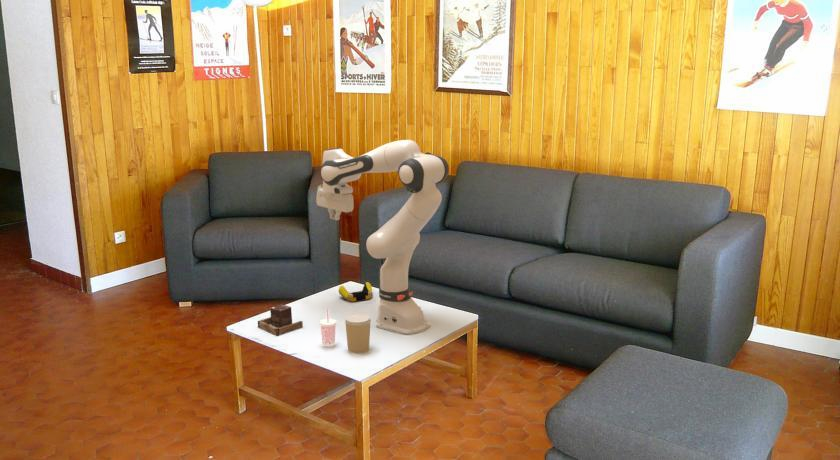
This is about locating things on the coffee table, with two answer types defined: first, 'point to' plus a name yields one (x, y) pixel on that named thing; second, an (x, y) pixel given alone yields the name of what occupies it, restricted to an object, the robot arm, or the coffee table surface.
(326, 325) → the beverage cup
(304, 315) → the coffee table surface
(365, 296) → the gaming controller
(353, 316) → the coffee cup
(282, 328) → the frame
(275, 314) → the box
